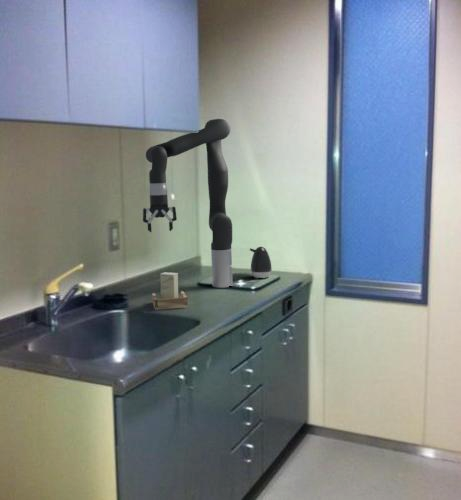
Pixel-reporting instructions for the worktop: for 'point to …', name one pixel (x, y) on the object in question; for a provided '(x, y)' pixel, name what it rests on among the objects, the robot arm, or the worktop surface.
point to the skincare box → (169, 285)
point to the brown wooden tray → (170, 302)
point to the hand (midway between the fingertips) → (160, 231)
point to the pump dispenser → (260, 263)
